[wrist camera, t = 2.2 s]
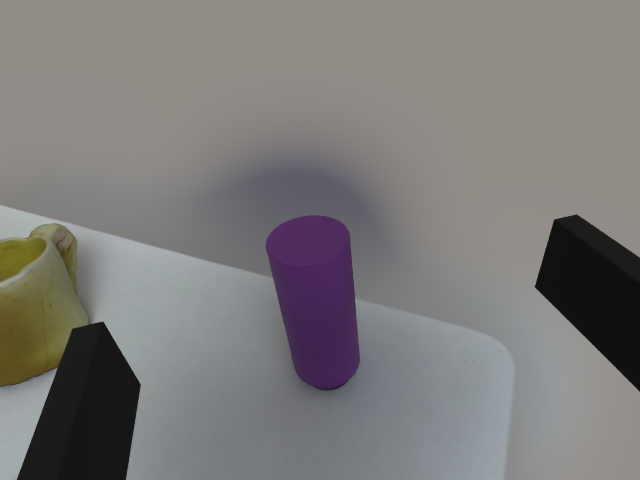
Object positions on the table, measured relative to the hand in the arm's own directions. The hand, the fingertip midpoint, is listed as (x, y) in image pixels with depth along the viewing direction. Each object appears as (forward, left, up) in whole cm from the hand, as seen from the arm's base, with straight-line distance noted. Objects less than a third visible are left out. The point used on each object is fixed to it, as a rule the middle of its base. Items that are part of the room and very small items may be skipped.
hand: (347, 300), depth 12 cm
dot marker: (+8, -4, -15) cm, 17 cm away
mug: (+28, +9, -15) cm, 32 cm away
